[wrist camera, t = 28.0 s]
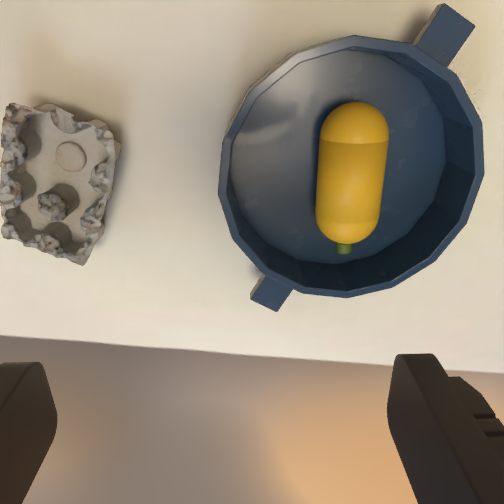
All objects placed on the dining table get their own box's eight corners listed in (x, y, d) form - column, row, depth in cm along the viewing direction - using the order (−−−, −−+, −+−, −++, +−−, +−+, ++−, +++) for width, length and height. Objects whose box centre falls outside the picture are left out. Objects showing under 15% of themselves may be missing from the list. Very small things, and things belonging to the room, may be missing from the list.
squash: (359, 237, 34) (385, 261, 30) (305, 241, 34) (324, 266, 30) (374, 97, 30) (406, 103, 26) (312, 99, 29) (336, 106, 25)
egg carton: (33, 90, 30) (2, 94, 26) (135, 131, 31) (120, 141, 27) (9, 220, 34) (-21, 240, 30) (100, 252, 35) (83, 275, 31)
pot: (171, 234, 34) (159, 260, 30) (324, -57, 26) (339, -81, 22) (344, 320, 38) (356, 355, 33) (525, 88, 30) (575, 93, 25)
